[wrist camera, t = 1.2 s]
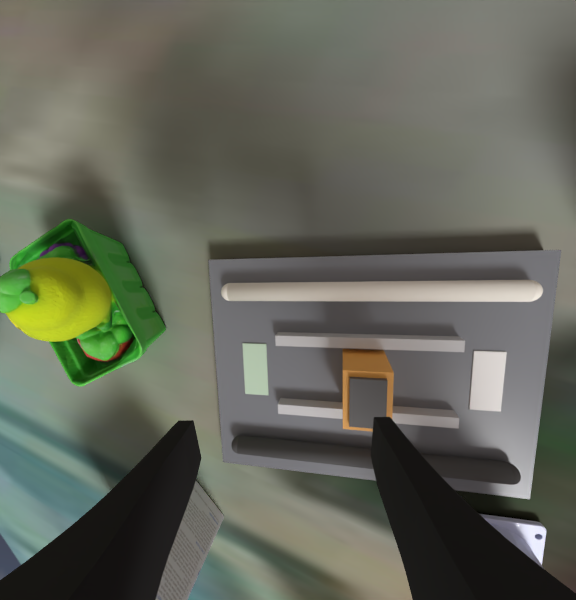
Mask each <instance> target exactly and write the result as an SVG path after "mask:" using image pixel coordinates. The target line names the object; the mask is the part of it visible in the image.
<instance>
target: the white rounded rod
mask: <svg viewBox="0 0 576 600" xmlns="http://www.w3.org/2000/svg"><path fill="white" fill-rule="evenodd" d="M542 293H543V288H542V286H541V284H539V283H538V282H536V281H534V280H457V281H364V282H271V283H227V284H225V285H224V286H223V287H222V290H221V294H222V297H223V298H224V299H225V300H227V301H394V302H531V301H535V300H537V299H538V298H540V297H541V295H542Z"/></svg>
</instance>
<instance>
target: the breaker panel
mask: <svg viewBox="0 0 576 600" xmlns="http://www.w3.org/2000/svg"><path fill="white" fill-rule="evenodd" d="M560 256H561V250H536V251H501V252H465V253H430V254H394V255H359V256H323V257H288V258H252V259H217V260H208V263H209V276H210V290H211V303H212V317H213V331H214V344H215V358H216V371H217V385H218V399H219V412H220V426H221V440H222V453H223V462H227V463H235V464H243V465H251V466H260V467H268V468H276V469H284V470H293V471H301V472H309V473H317V474H326V475H334V476H342V477H351V478H359V479H367V480H375V481H376V478H375V473H374V469H367V468H359V467H350V466H341V465H332V464H323V463H315V462H306V461H297V460H288V459H279V458H271V457H262V456H253V455H244V454H237V453H235V452H234V451H233V450H232V446H231V445H232V441H233V439H234V438H235V437H236V436H239V435H244V436H254V437H264V438H274V439H284V440H294V441H304V442H314V443H324V444H334V445H344V446H354V447H364V448H371V444H372V433H373V432H372V431H360V430H349V429H343V404H342V373H343V349H362V350H384V352H385V354H386V356H387V359H388V361H389V363H390V365H391V367H392V370H393V372H394V383H393V413H392V420H393V421H394V422H395V423H396V425H397V426H398V427H399V428H400V430H401V431H402V432H403V433H404V435H405V436H406V437H407V438H408V439H409V441H410V442H411V443H412V444H413V445H414V447H415V448H416V449H417V450H418V451H419V452H420V453H424V454H434V455H444V456H454V457H464V458H474V459H484V460H494V461H504V462H509V463H511V464H513V465H514V466H515V467H516V468H517V469H518V470H519V472H520V475H521V480H520V482H519V483H518V484H515V485H508V484H499V483H490V482H482V481H473V480H464V479H455V478H446V477H442V478H443V479H444V480H445V481H446V482H447V483H448V484H449V485H450V486H451V487H452V488H453V489H454V490H458V491H466V492H474V493H483V494H491V495H499V496H507V497H516V498H524V499H530V494H531V486H532V478H533V470H534V462H535V454H536V446H537V438H538V430H539V423H540V415H541V407H542V399H543V391H544V383H545V375H546V367H547V359H548V351H549V343H550V335H551V327H552V319H553V311H554V303H555V295H556V287H557V280H558V272H559V264H560ZM457 280H534V281H536V282H538V283H539V284H541V286H542V288H543V293H542V295H541V297H540V298H538V299H537V300H535V301H531V302H394V301H227V300H225V299H224V298H223V297H222V294H221V290H222V287H223V286H224V285H225V284H227V283H271V282H364V281H457Z"/></svg>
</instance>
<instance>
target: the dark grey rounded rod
mask: <svg viewBox="0 0 576 600" xmlns="http://www.w3.org/2000/svg"><path fill="white" fill-rule="evenodd" d="M231 446H232V450H233V451H234V452H235V453H237V454H244V455H253V456H262V457H271V458H279V459H288V460H297V461H306V462H315V463H323V464H332V465H341V466H350V467H359V468H367V469H373V464H372V460H371V448H364V447H354V446H344V445H334V444H324V443H314V442H304V441H294V440H284V439H274V438H264V437H254V436H244V435H239V436H236V437H235V438H234V439H233V441H232V445H231ZM420 454H421V455H422V456H423V457H424V458H425V459H426V460H427V461H428V463H429V464H430V465H431V466H432V467H433V468H434V469H435V470H436V471H437V472H438V474H439V475H440V476H441V477H446V478H455V479H464V480H473V481H482V482H490V483H499V484H508V485H515V484H518V483H519V482H520V480H521V475H520V472H519V470H518V469H517V468H516V467H515V466H514V465H513V464H511V463H509V462H504V461H494V460H484V459H474V458H464V457H454V456H444V455H434V454H424V453H420Z"/></svg>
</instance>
